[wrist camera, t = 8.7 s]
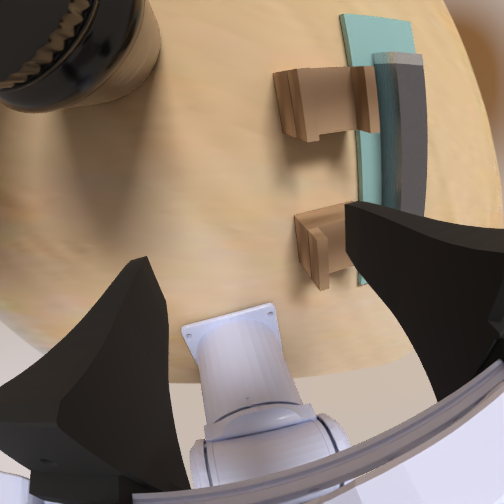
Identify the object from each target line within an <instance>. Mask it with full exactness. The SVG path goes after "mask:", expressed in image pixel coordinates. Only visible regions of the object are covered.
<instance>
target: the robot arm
mask: <svg viewBox="0 0 504 504" xmlns="http://www.w3.org/2000/svg"><path fill="white" fill-rule="evenodd" d="M344 208H345V252H346V253H347V255H348V257H349V258H350V260H351V262H352V263H353V265H354V266H355V268H356V269H357V271H358V272H359V273H360V274H361V276H362V277H363V278H364V279H365V280H366V282H367V283H368V284H369V285H370V286H371V288H372V289H373V290H374V291H375V292H376V293H377V295H378V296H379V297H380V298H381V299H382V301H383V302H384V303H385V304H386V305H387V307H388V308H389V309H390V310H391V312H392V313H393V314H394V316H395V317H396V318H397V320H398V322H399V323H400V325H401V326H402V328H403V330H404V331H405V333H406V335H407V336H408V338H409V340H410V342H411V344H412V345H413V347H414V349H415V351H416V353H417V355H418V357H419V358H420V361H421V363H422V365H423V367H424V369H425V371H426V374H427V376H428V378H429V380H430V383H431V385H432V388H433V391H434V393H435V396H436V399H437V402H438V403H436V404H434V405H433V406H431V407H430V408H428V409H426V410H425V411H423V412H421V413H419V414H418V415H416V416H414V417H412V418H410V419H409V420H407V421H405V422H403V423H401V424H399V425H397V426H395V427H393V428H392V429H389V430H387V431H385V432H383V433H381V434H379V435H377V436H375V437H373V438H370V439H368V440H366V441H364V442H361V443H359V444H357V445H354V446H352V447H351V445H350V443H349V440H348V438H347V436H346V434H345V432H344V430H343V428H342V427H341V426H340V424H339V423H338V422H337V421H336V420H334V419H332V418H331V417H330V416H328V415H326V414H323V413H322V414H318V415H315V412H314V410H313V408H312V405H311V404H310V403H309V404H305V405H303V403H302V400H301V398H300V396H299V393H298V391H297V388H296V386H295V383H294V381H293V378H292V376H291V373H290V371H289V368H288V366H287V363H286V361H285V358H284V356H283V351H282V345H281V339H280V333H279V327H278V321H277V315H276V309H275V306H274V304H273V303H266V304H262V305H259V306H255V307H252V308H248V309H244V310H241V311H237V312H234V313H230V314H226V315H222V316H219V317H215V318H211V319H207V320H203V321H200V322H196V323H192V324H188V325H184V326H183V327H182V328H181V333H182V335H183V337H184V339H185V342H186V344H187V346H188V348H189V350H190V352H191V354H192V356H193V358H194V360H195V362H196V364H197V366H198V368H199V374H200V381H201V388H202V395H203V402H204V408H205V415H206V421H207V425H205V426H204V431H205V437H206V440H205V439H201V440H196V442H195V445H194V446H193V447H192V448H191V450H190V467H191V474H192V480H193V484H194V489H191V487H190V484H189V480H188V477H187V474H186V470H185V467H184V463H183V460H182V456H181V452H180V447H179V443H178V439H177V434H176V429H175V424H174V419H173V413H172V406H171V400H170V393H169V380H168V346H169V323H168V313H167V305H166V300H165V298H164V296H163V293H162V291H161V289H160V286H159V284H158V282H157V279H156V277H155V275H154V272H153V270H152V267H151V265H150V263H149V260H148V258H147V256H145V257H141V258H138V259H134V260H131V261H130V262H129V263H128V264H127V265H126V266H125V267H124V268H123V270H122V271H121V272H120V273H119V275H118V276H117V277H116V278H115V280H114V281H113V282H112V284H111V285H110V286H109V287H108V289H107V290H106V291H105V293H104V294H103V295H102V296H101V297H100V299H99V300H98V301H97V302H96V303H95V305H94V306H93V307H92V308H91V310H90V311H89V312H88V313H87V314H86V315H85V317H84V318H83V319H82V320H81V321H80V322H79V323H78V324H77V325H76V326H75V327H74V328H73V329H72V330H71V331H70V332H69V333H68V334H67V335H66V336H65V337H64V338H63V339H62V340H61V341H60V342H59V343H58V344H57V345H55V346H54V347H53V348H52V349H51V350H50V351H49V352H48V353H47V354H45V355H44V356H43V357H42V358H41V359H39V360H38V361H37V362H36V363H34V364H33V365H32V366H30V367H29V368H28V369H26V370H25V371H23V372H22V373H21V374H19V375H18V376H16V377H15V378H13V379H12V380H10V381H8V382H7V383H5V384H4V385H2V386H1V387H0V450H1V451H2V452H4V453H5V454H7V455H8V456H9V457H11V458H13V459H14V460H15V461H17V462H18V463H20V464H21V465H23V466H25V467H26V468H28V469H29V470H31V475H30V479H28V478H26V477H23V476H20V475H16V474H11V473H6V472H2V471H0V504H504V229H495V228H482V227H474V226H466V225H459V224H454V223H448V222H443V221H438V220H434V219H430V218H426V217H422V216H418V215H414V214H411V213H407V212H404V211H400V210H397V209H393V208H389V207H386V206H382V205H378V204H374V203H370V202H364V201H356V202H352V203H348V204H344ZM269 312H271V313H270V314H268V313H269ZM187 334H191V335H187ZM386 463H387V464H386ZM384 464H385V465H384ZM382 465H383V466H382ZM380 466H381V467H380ZM378 467H379V468H378ZM375 468H377V469H375ZM374 469H375V470H374ZM371 470H374V471H371ZM369 471H371V472H369ZM367 472H369V473H367ZM365 473H367V474H365ZM363 474H365V475H363ZM360 475H363V476H361V477H359V478H357V479H355V480H354V478H355V477H358V476H360Z"/></svg>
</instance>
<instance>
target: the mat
mask: <svg viewBox="0 0 504 504" xmlns="http://www.w3.org/2000/svg"><path fill="white" fill-rule="evenodd" d="M339 16H340V21H341V26H342V32H343V37H344V43H345V49H346V55H347V61H348V67H354V66H374V64H373V58H372V53H380V52H405V53H414V54H415V47H414V40H413V34H412V28H411V23H410V22H407V21H402V20H396V19H389V18H382V17H374V16H365V15H354V14H341V15H339ZM356 143H357V158H358V179H359V201H364V202H370V203H374V204H378V205H381V202H382V171H381V140H380V132H379V133H368V132H364V131H361V130H356ZM358 282H359V283H360V284H361V285H363V284H366V283H367V282H366V280H365V279H364V278H363V277H362V276H361V274H360V273H359V272H358Z"/></svg>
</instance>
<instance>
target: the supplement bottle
mask: <svg viewBox="0 0 504 504" xmlns="http://www.w3.org/2000/svg"><path fill="white" fill-rule="evenodd" d="M160 45H161V37H160V30H159V26H158V23H157V20H156V18H155V15H154V13H153V11H152V8H151V6H150V3H149V1H148V0H0V102H1V103H2V104H3V105H5V106H6V107H9V108H11V109H13V110H16V111H19V112H24V113H46V112H52V111H57V110H63V109H69V108H74V107H81V106H87V105H94V104H101V103H107V102H111V101H114V100H117V99H119V98H121V97H123V96H125V95H127V94H129V93H130V92H132V91H133V90H134V89H136V88H137V87H138V86H139V85H140V84H141V83H142V82H143V81H144V80H145V79H146V78H147V76H148V75H149V74H150V72H151V71H152V69H153V67H154V65H155V63H156V61H157V58H158V55H159V51H160Z"/></svg>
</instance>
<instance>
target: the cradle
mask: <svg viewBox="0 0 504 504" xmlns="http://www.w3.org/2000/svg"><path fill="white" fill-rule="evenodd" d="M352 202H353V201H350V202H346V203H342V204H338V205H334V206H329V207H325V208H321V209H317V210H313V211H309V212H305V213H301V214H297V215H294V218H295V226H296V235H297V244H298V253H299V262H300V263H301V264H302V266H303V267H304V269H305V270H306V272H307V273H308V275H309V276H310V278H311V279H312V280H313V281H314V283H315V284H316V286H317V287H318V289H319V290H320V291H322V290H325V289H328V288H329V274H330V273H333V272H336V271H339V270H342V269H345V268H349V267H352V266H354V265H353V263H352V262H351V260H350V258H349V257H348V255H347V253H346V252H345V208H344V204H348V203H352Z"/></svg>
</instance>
